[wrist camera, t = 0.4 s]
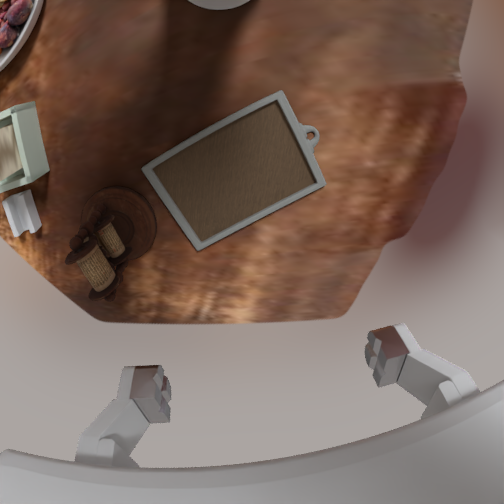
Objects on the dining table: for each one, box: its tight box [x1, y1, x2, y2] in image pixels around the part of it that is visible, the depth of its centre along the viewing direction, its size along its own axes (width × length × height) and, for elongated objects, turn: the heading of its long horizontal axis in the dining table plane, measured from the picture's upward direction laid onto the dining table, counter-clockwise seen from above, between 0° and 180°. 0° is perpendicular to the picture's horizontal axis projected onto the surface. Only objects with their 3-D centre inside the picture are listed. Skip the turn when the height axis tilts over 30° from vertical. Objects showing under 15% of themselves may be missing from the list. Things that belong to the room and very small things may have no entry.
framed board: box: [142, 90, 326, 251], centre depth 55 cm, size 19×2×30 cm
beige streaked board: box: [0, 124, 23, 181], centre depth 39 cm, size 8×2×14 cm, turn 6°
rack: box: [0, 101, 50, 193], centre depth 43 cm, size 14×12×7 cm
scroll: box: [65, 186, 157, 302], centre depth 48 cm, size 15×15×20 cm
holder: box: [2, 190, 42, 237], centre depth 51 cm, size 8×6×3 cm
